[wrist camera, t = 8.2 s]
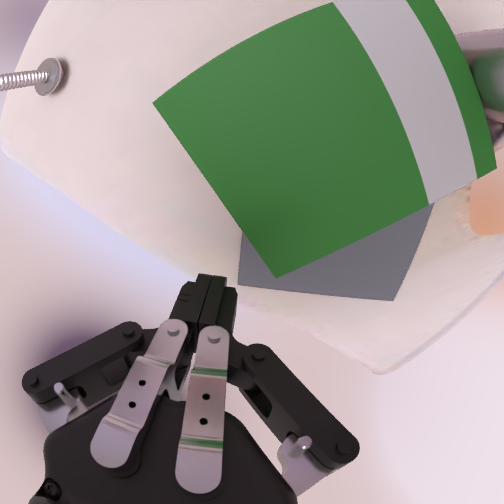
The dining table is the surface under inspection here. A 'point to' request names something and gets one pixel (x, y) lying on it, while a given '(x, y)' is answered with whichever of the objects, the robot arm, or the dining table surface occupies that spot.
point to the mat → (347, 264)
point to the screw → (35, 78)
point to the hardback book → (333, 125)
